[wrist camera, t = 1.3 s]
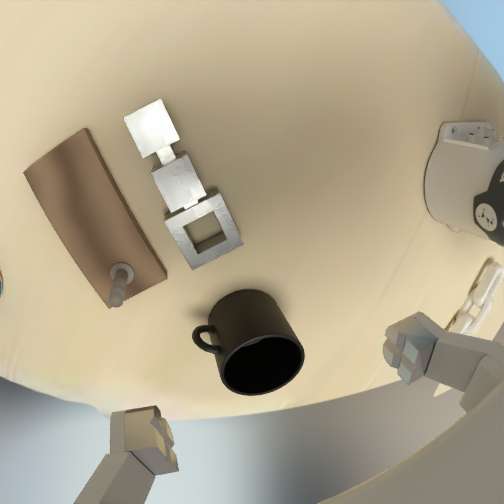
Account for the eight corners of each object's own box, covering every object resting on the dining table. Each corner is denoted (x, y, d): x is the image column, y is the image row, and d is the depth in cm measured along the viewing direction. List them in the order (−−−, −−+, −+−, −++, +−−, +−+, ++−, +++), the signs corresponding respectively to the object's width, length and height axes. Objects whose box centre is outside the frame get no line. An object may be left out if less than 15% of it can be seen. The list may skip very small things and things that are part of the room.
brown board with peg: (87, 128, 25) (65, 129, 18) (167, 272, 33) (168, 307, 27) (29, 169, 24) (-3, 183, 18) (110, 301, 33) (102, 339, 26)
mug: (198, 278, 34) (208, 326, 26) (289, 294, 39) (319, 337, 31) (180, 340, 37) (187, 393, 29) (264, 349, 42) (285, 396, 34)
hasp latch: (119, 125, 25) (110, 125, 21) (173, 97, 26) (174, 92, 22) (190, 260, 33) (194, 279, 29) (238, 236, 34) (249, 252, 30)
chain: (426, 368, 60) (441, 384, 55) (415, 367, 58) (430, 384, 52) (493, 263, 52) (512, 274, 47) (486, 254, 50) (506, 266, 45)
